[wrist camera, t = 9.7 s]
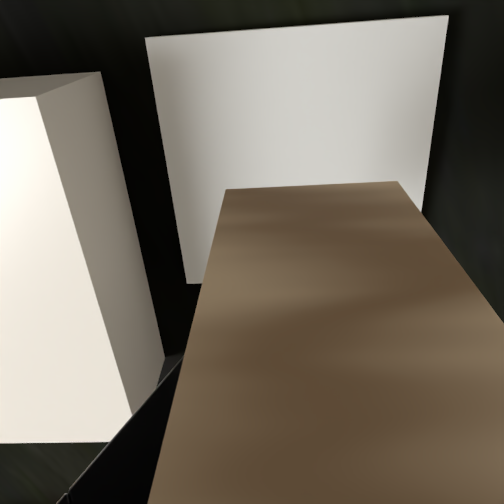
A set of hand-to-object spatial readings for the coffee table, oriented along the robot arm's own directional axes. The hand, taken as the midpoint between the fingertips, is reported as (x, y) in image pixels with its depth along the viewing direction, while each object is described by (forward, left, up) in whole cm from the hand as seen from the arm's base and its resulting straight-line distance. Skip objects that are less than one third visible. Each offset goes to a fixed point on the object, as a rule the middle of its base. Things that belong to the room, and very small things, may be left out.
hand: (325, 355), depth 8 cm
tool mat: (0, 0, -11) cm, 11 cm away
